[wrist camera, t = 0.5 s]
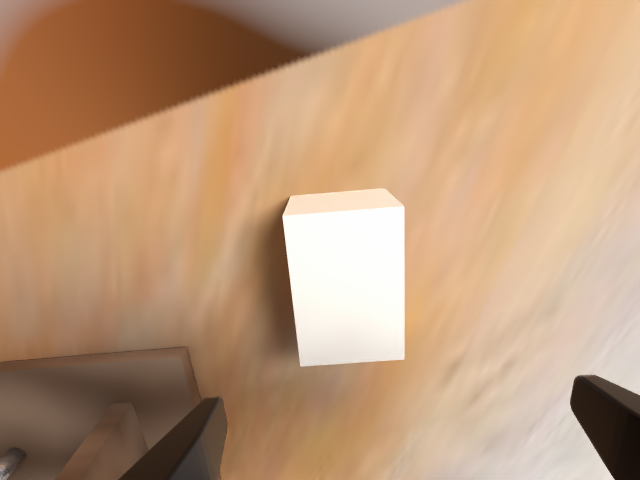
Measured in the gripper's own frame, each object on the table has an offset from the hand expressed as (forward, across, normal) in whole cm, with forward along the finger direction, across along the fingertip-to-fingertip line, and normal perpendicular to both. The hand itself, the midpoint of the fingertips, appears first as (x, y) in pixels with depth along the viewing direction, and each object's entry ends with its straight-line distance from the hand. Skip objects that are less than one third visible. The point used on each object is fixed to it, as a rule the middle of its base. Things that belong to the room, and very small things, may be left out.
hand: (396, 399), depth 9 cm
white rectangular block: (+11, +1, 0) cm, 11 cm away
